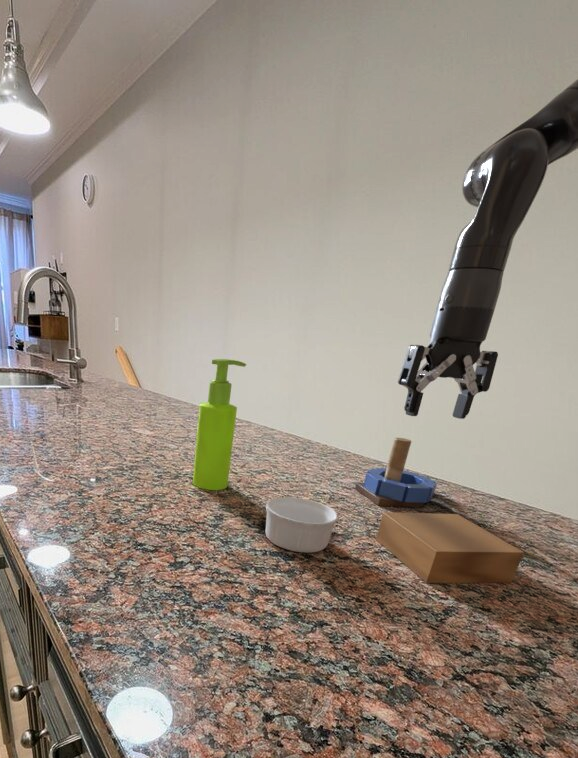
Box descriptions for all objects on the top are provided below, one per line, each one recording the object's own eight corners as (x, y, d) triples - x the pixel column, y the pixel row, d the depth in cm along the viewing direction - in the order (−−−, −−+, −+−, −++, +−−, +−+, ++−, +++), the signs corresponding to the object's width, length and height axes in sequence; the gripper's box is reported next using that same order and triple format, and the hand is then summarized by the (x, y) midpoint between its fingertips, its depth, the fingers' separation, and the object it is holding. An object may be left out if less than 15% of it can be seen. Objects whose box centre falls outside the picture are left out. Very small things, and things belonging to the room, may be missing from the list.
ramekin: (279, 520, 63) (284, 491, 61) (340, 540, 59) (347, 509, 57) (249, 539, 56) (253, 507, 55) (315, 564, 52) (323, 530, 50)
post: (395, 490, 81) (410, 435, 77) (422, 507, 74) (440, 446, 70) (354, 488, 80) (368, 432, 76) (378, 505, 72) (394, 444, 69)
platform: (448, 540, 62) (457, 513, 60) (511, 583, 52) (524, 552, 50) (375, 539, 60) (382, 512, 58) (426, 583, 50) (437, 551, 48)
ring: (407, 482, 82) (410, 469, 81) (445, 503, 73) (450, 489, 72) (354, 480, 80) (357, 466, 80) (386, 501, 71) (390, 487, 70)
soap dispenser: (239, 486, 75) (255, 362, 67) (206, 492, 71) (219, 360, 64) (218, 476, 79) (231, 358, 72) (186, 480, 76) (196, 356, 68)
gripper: (488, 311, 70) (457, 414, 76) (407, 303, 68) (381, 410, 74) (528, 310, 64) (490, 423, 70) (439, 300, 61) (408, 419, 67)
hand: (434, 416), depth 72 cm, fingers open, 8 cm apart
